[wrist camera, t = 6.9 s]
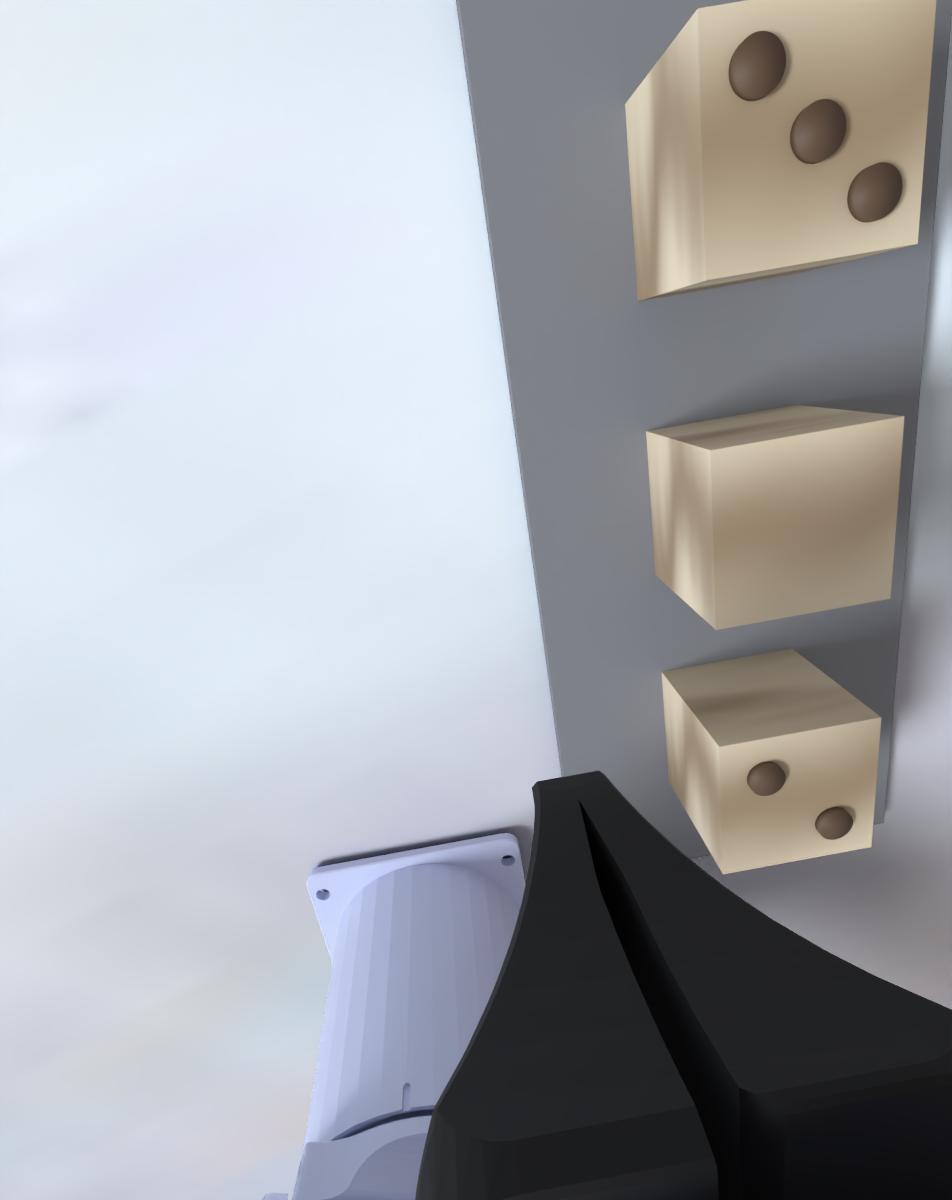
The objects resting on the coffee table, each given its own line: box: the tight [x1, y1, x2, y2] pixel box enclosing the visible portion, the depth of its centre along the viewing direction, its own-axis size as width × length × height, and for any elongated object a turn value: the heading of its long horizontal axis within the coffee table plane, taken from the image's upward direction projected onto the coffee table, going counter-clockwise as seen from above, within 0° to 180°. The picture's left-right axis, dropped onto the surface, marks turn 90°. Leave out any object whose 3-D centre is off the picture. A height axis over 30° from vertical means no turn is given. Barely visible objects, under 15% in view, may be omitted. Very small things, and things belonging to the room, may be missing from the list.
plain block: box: [646, 405, 904, 630], centre depth 17 cm, size 4×4×4 cm
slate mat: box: [456, 0, 952, 859], centre depth 20 cm, size 28×12×1 cm, turn 9°
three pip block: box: [625, 0, 936, 301], centre depth 14 cm, size 4×4×5 cm
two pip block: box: [662, 648, 881, 874], centre depth 20 cm, size 4×4×5 cm
